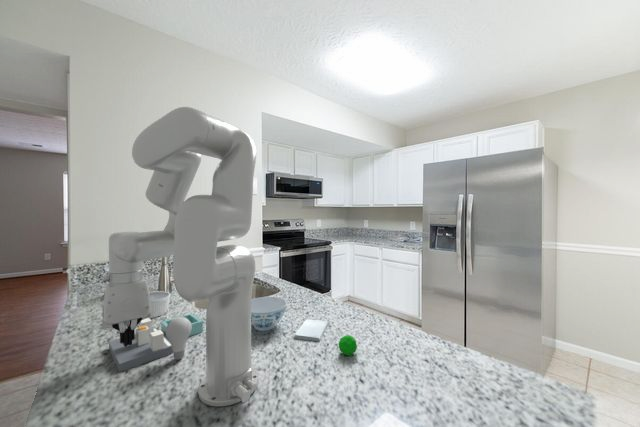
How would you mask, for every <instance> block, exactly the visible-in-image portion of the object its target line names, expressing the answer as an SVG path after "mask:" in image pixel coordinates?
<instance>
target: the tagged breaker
mask: <svg viewBox="0 0 640 427" xmlns="http://www.w3.org/2000/svg"><path fill="white" fill-rule="evenodd" d="M135 334H136V343H137V345H138V346H140V345H144V344H147V343H149V328H148V327H147V326H145V325H143V326H140V327H139V326H138V327H136V328H135Z"/></svg>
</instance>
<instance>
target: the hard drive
mask: <svg viewBox="0 0 640 427" xmlns="http://www.w3.org/2000/svg"><path fill="white" fill-rule="evenodd" d="M328 325H329V322H328V320H327V321H326V320H318V319H317V320H316V319H309V318H307V319H306V318H305V320H304V322H303V323H302V324H301V326H299V328H298V330H297V331H296V333H295V334H294V335H293V339H296V340H305V341H313V342H321V340H322V337H323V336H324V333H325V332H326V329H327V327H328Z"/></svg>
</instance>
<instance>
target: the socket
mask: <svg viewBox="0 0 640 427" xmlns="http://www.w3.org/2000/svg"><path fill="white" fill-rule="evenodd" d="M177 317H178V316H177ZM177 317H173V318H170V319H167V320H166V319H165V320H162V321H160V330H161V331H162V332H163V333H164V336H165V337H166V338H167V336H166V327H167V325H168V324H169V323H170V321H172V320H173V319H175V318H177ZM179 317H185V318H187V319H188V320H189V321H190V322H191V325H192V329H191V332H190V335H189V336H188V338H189V337H192V336H195V335H198V334H202V333H203V332H204V331H203V330H204V327H203V326H204V323H203V322H204V320H201V319H200V318H199V317H198V316H197V315H195V314H193V313H189V314H184V315H182V316H179ZM167 339H168V338H167Z"/></svg>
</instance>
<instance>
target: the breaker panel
mask: <svg viewBox="0 0 640 427" xmlns="http://www.w3.org/2000/svg"><path fill="white" fill-rule="evenodd" d="M138 325H139V326H138V327H140V326H143V325H145V326H147V327H148V328H149V343H147V344H144V345H140V346H138V345H137V343H136V333H134V340H132V345H127V346H126V347H125V346H124V345H123V343H120V337H119V338H117V339H116V338H115V339H111V340H109V341H108V349H109V352H110V354H111V356H112V358H113V360H114V363H115V365H116V367H117V369H118V372H119V373H121V372H124V371H126V370H129V369H132V368H134V367H135V368H136V367H139V366H140V365H142V364H143V365H144V364H146V363H149V362H151V361H154V360H157V359H160V358H163V357H166V356H168V355H170V354H171V355H172V354H173V350H172V345H171V342H170V341H169V340H168V339H167V338H166V337H165V336H164V333H163V332H162V331H161V329H159V328H158V327H154V328H152V325H153V324H152V320H151V319H150V318H147V319H144V320H142V321H141V322H140V323H139V324H138Z"/></svg>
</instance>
